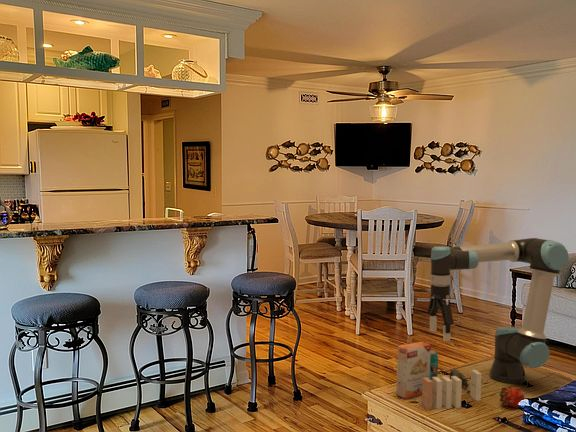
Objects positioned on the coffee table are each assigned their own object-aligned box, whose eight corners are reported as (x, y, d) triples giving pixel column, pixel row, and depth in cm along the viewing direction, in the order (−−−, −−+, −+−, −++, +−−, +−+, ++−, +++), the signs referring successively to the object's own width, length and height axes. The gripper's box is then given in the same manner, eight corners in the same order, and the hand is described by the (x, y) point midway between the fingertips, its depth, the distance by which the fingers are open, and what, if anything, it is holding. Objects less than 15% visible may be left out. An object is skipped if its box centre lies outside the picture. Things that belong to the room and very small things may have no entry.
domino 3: (445, 403, 219) (446, 376, 218) (451, 408, 214) (452, 380, 213) (440, 403, 218) (441, 376, 218) (446, 408, 213) (447, 381, 213)
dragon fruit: (498, 411, 215) (519, 410, 220) (514, 405, 208) (535, 404, 214) (490, 390, 219) (512, 389, 224) (506, 383, 213) (527, 383, 218)
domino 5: (474, 395, 227) (475, 369, 226) (480, 400, 222) (481, 373, 221) (470, 395, 226) (470, 369, 226) (476, 400, 222) (476, 374, 221)
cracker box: (406, 400, 221) (407, 349, 220) (395, 395, 226) (396, 345, 225) (430, 393, 229) (431, 344, 227) (419, 388, 234) (420, 340, 232)
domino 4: (455, 402, 219) (455, 375, 218) (460, 407, 214) (461, 380, 213) (450, 403, 219) (451, 376, 218) (456, 408, 214) (456, 380, 213)
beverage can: (429, 389, 233) (430, 354, 232) (420, 384, 238) (421, 350, 237) (440, 387, 236) (441, 352, 235) (430, 382, 241) (431, 349, 240)
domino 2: (436, 403, 218) (437, 376, 217) (441, 408, 213) (442, 381, 212) (431, 404, 218) (432, 376, 217) (436, 409, 213) (437, 381, 212)
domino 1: (426, 404, 217) (427, 377, 217) (431, 409, 212) (432, 381, 212) (421, 404, 217) (422, 377, 216) (426, 409, 212) (427, 382, 211)
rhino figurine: (463, 391, 231) (464, 377, 230) (447, 380, 244) (447, 367, 244) (472, 391, 232) (473, 377, 231) (455, 379, 245) (455, 366, 245)
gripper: (420, 279, 235) (419, 328, 236) (444, 291, 210) (443, 345, 212) (436, 278, 236) (436, 327, 237) (462, 290, 211) (462, 344, 213)
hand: (439, 335), depth 225 cm, fingers open, 13 cm apart
